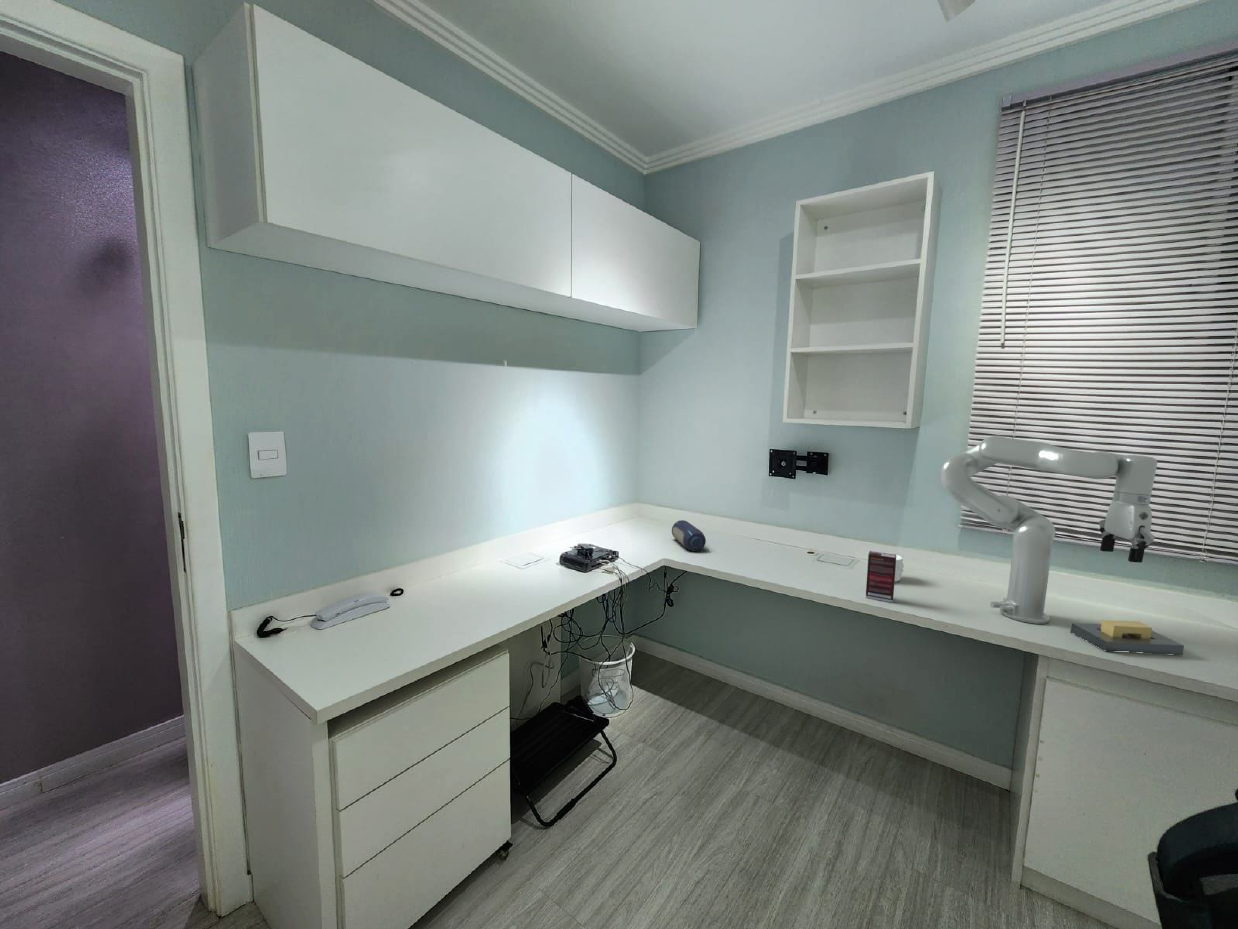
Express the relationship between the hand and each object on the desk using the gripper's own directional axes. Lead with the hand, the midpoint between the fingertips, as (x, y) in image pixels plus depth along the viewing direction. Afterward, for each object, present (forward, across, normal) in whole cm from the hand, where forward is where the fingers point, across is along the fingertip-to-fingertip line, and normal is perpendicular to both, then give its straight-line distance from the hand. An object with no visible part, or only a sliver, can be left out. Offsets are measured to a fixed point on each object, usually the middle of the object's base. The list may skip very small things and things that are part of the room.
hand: (1120, 556), depth 149 cm
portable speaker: (+29, +74, +122) cm, 145 cm away
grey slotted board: (+24, -5, -1) cm, 25 cm away
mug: (+26, +40, +46) cm, 67 cm away
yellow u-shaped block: (+24, -5, -1) cm, 25 cm away
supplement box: (+26, +20, +57) cm, 66 cm away
